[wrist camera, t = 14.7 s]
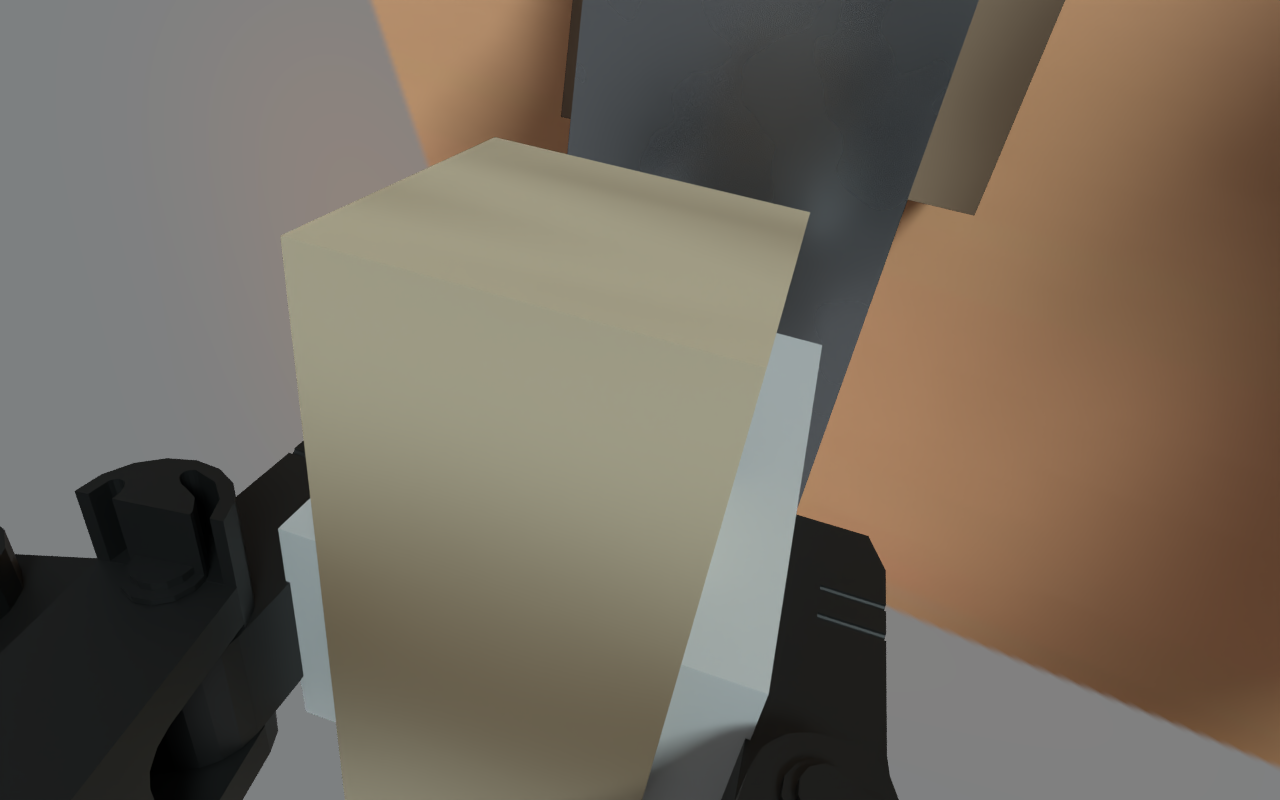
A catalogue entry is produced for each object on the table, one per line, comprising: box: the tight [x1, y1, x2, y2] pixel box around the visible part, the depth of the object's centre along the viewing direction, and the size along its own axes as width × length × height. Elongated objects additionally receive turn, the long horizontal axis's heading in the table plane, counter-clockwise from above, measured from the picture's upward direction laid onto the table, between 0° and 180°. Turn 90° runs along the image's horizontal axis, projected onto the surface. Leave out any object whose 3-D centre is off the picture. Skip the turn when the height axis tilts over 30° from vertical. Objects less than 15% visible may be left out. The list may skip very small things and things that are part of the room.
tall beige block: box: [280, 0, 979, 800], centre depth 10 cm, size 15×6×10 cm, turn 171°
